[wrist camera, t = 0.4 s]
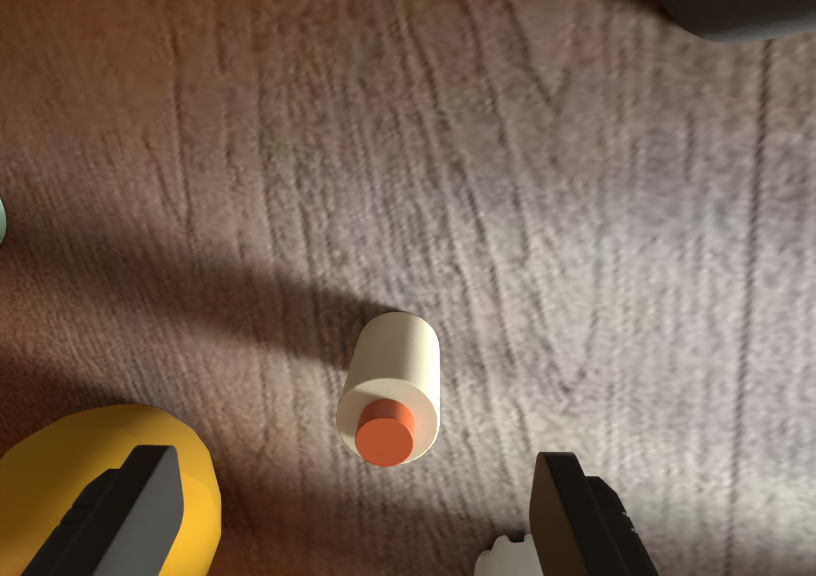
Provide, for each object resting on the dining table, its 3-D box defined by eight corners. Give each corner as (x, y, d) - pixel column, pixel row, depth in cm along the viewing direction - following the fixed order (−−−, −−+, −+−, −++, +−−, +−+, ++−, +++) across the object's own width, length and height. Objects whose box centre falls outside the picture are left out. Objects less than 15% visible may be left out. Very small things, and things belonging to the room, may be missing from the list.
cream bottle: (368, 301, 32) (343, 382, 24) (449, 323, 32) (453, 412, 24) (349, 372, 34) (319, 471, 25) (425, 393, 34) (421, 498, 26)
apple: (257, 380, 34) (174, 519, 24) (253, 542, 39) (182, 720, 28) (47, 353, 34) (-130, 479, 24) (69, 518, 39) (-71, 686, 28)
